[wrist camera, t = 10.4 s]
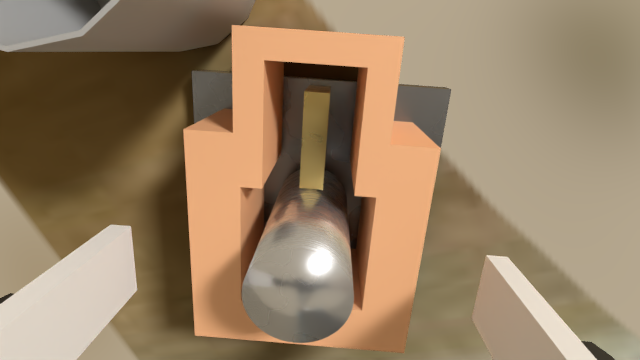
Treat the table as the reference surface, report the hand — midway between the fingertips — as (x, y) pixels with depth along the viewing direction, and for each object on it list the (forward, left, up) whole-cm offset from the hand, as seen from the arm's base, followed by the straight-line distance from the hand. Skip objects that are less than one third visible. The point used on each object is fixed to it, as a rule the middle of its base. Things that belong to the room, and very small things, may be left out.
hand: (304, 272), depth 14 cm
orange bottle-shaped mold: (+2, 0, -6) cm, 6 cm away
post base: (+1, 0, -7) cm, 7 cm away
